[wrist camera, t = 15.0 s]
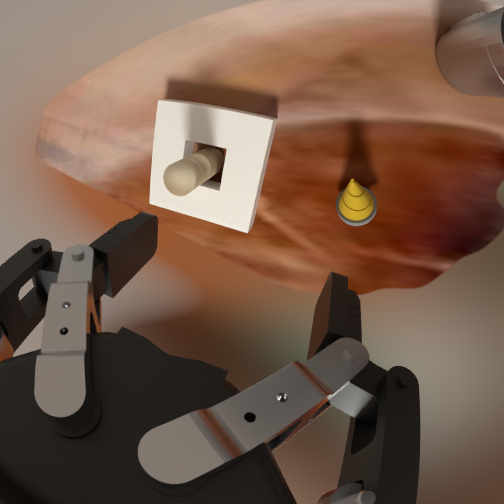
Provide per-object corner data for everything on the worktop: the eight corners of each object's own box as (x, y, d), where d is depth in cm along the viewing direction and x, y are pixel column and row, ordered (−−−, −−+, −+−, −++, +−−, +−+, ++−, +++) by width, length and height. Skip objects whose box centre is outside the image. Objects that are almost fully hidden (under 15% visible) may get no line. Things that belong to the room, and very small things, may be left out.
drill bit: (331, 215, 40) (318, 179, 31) (358, 191, 40) (351, 151, 31) (357, 241, 38) (351, 210, 29) (384, 216, 37) (385, 179, 28)
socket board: (169, 98, 37) (158, 100, 34) (277, 118, 35) (273, 120, 32) (159, 196, 45) (149, 203, 43) (253, 224, 44) (247, 233, 41)
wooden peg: (200, 144, 39) (164, 159, 31) (226, 150, 39) (196, 167, 30) (197, 170, 41) (162, 191, 33) (222, 176, 41) (191, 200, 33)
